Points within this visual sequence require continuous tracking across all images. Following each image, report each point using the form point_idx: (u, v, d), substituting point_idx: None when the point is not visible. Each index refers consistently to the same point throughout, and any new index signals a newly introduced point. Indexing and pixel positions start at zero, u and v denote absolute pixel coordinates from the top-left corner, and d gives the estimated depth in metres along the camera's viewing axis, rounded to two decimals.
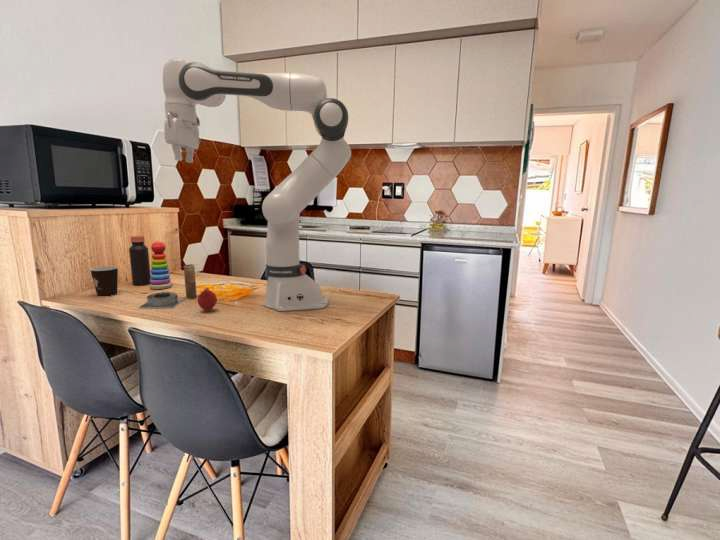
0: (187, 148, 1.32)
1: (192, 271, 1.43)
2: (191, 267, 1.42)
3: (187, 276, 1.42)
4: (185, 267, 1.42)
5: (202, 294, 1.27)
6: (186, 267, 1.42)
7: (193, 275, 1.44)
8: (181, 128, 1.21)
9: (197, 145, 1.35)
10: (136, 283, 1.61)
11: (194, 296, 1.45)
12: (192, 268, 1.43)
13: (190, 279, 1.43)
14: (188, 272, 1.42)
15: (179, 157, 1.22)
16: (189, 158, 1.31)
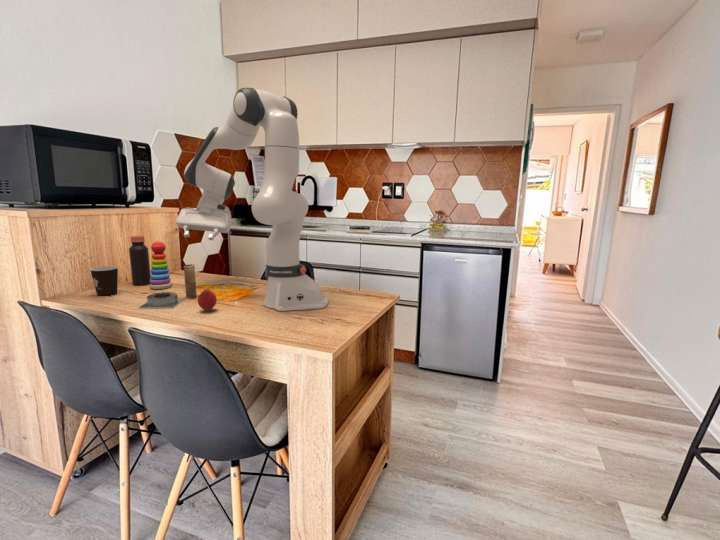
0: None
1: (192, 271, 1.43)
2: (191, 267, 1.42)
3: (187, 276, 1.42)
4: (185, 267, 1.42)
5: (202, 294, 1.27)
6: (186, 267, 1.42)
7: (193, 275, 1.44)
8: (192, 214, 1.54)
9: (222, 225, 1.52)
10: (136, 283, 1.61)
11: (194, 296, 1.45)
12: (192, 268, 1.43)
13: (190, 279, 1.43)
14: (188, 272, 1.42)
15: None
16: None
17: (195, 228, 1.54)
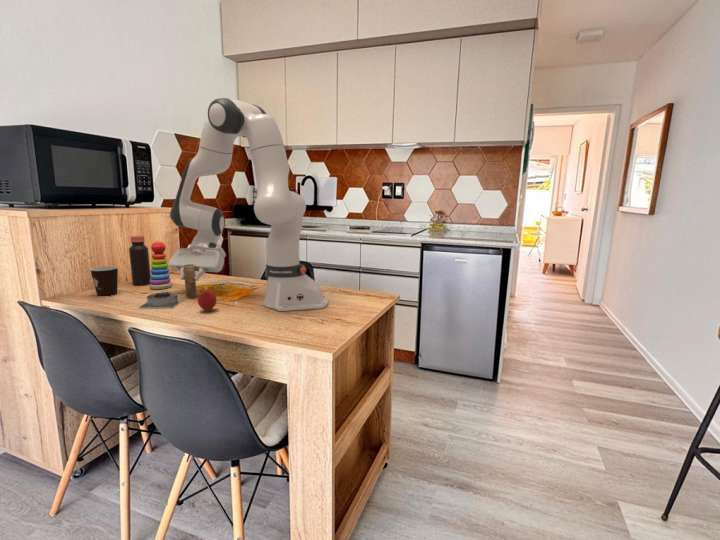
0: None
1: (192, 271, 1.43)
2: (191, 267, 1.42)
3: (187, 276, 1.42)
4: (185, 267, 1.42)
5: (202, 294, 1.27)
6: (186, 267, 1.42)
7: (193, 275, 1.44)
8: (185, 255, 1.49)
9: (212, 264, 1.44)
10: (136, 283, 1.61)
11: (194, 296, 1.45)
12: (192, 268, 1.43)
13: (190, 279, 1.43)
14: (188, 272, 1.42)
15: None
16: None
17: None
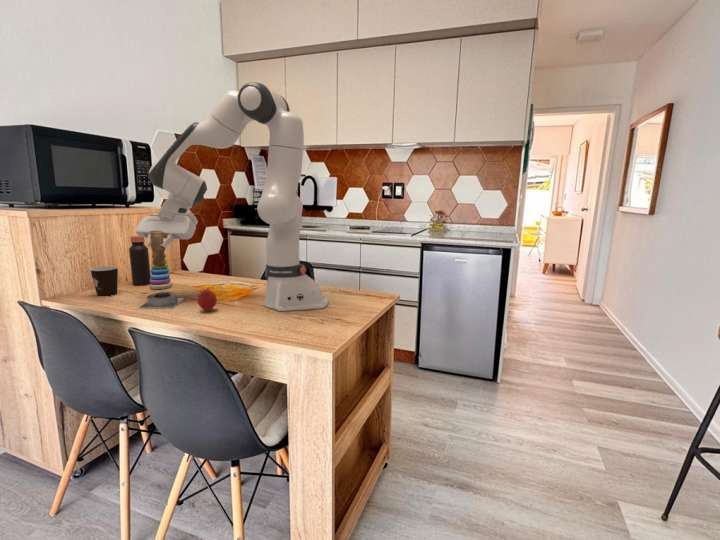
0: None
1: (159, 237, 1.32)
2: (158, 233, 1.31)
3: (154, 243, 1.31)
4: (152, 233, 1.31)
5: (202, 294, 1.27)
6: (153, 233, 1.31)
7: None
8: (153, 221, 1.38)
9: (182, 230, 1.33)
10: (136, 283, 1.61)
11: (162, 265, 1.34)
12: (159, 234, 1.32)
13: (157, 246, 1.32)
14: (155, 238, 1.31)
15: None
16: None
17: None
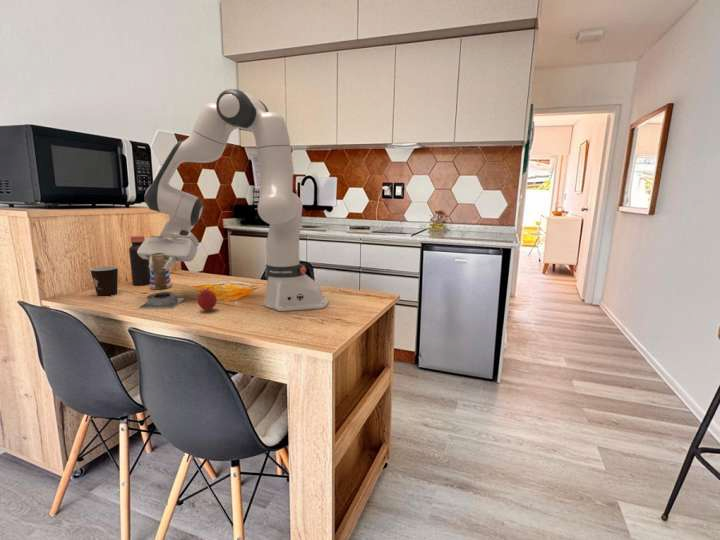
0: None
1: (161, 260, 1.33)
2: (160, 255, 1.33)
3: (156, 265, 1.33)
4: (153, 255, 1.32)
5: (202, 294, 1.27)
6: (154, 255, 1.32)
7: None
8: (155, 243, 1.39)
9: (183, 253, 1.35)
10: (136, 283, 1.61)
11: (164, 287, 1.35)
12: (161, 257, 1.33)
13: (159, 268, 1.33)
14: (156, 261, 1.33)
15: None
16: None
17: None
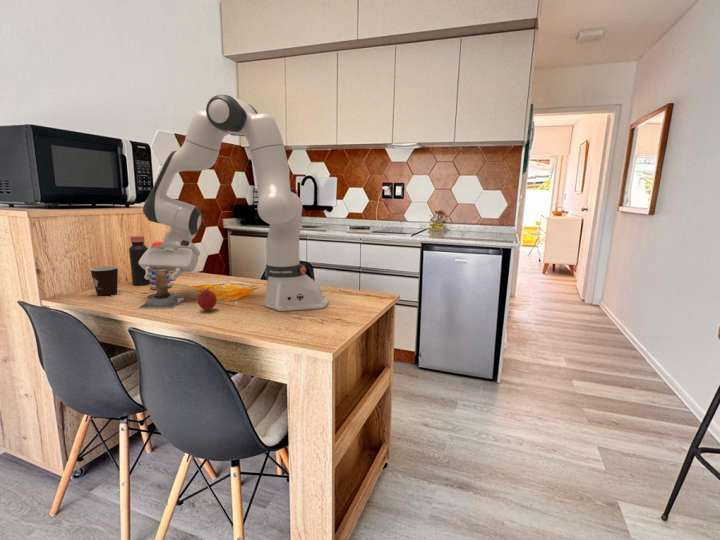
0: None
1: (163, 275, 1.34)
2: (162, 271, 1.34)
3: (158, 280, 1.34)
4: (156, 271, 1.33)
5: (202, 294, 1.27)
6: (157, 271, 1.33)
7: (165, 279, 1.35)
8: (156, 253, 1.40)
9: (184, 263, 1.35)
10: (136, 283, 1.61)
11: None
12: (164, 272, 1.34)
13: (161, 283, 1.34)
14: (159, 276, 1.34)
15: None
16: None
17: None
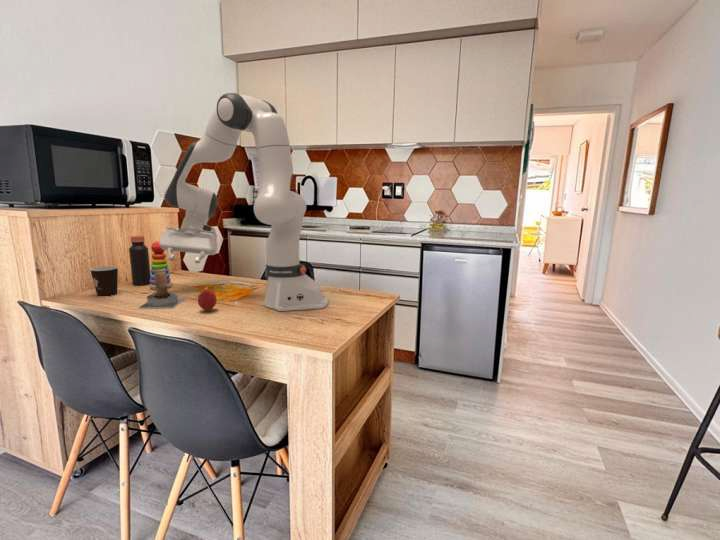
0: None
1: (163, 275, 1.34)
2: (162, 271, 1.34)
3: (157, 280, 1.34)
4: (155, 271, 1.33)
5: (202, 294, 1.27)
6: (156, 271, 1.33)
7: (164, 279, 1.35)
8: (176, 235, 1.49)
9: (209, 247, 1.48)
10: (136, 283, 1.61)
11: None
12: (163, 272, 1.34)
13: (161, 283, 1.34)
14: (158, 276, 1.34)
15: None
16: None
17: (180, 250, 1.49)
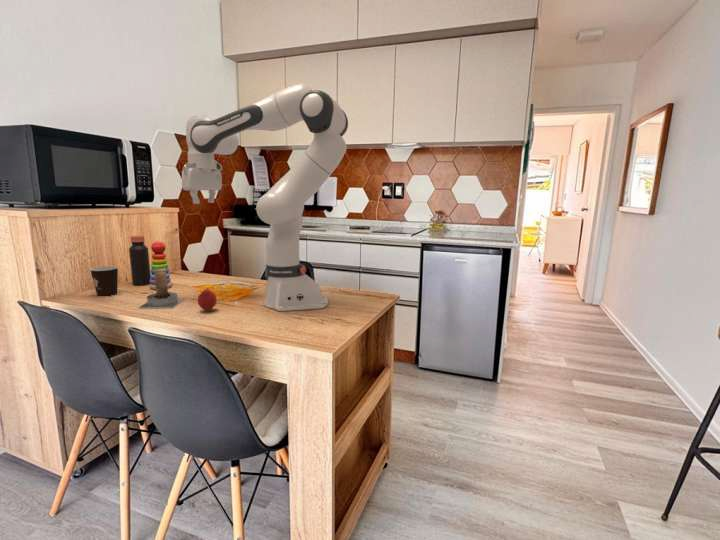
0: (209, 190, 1.49)
1: (163, 275, 1.34)
2: (162, 271, 1.34)
3: (158, 280, 1.34)
4: (155, 271, 1.33)
5: (202, 294, 1.27)
6: (156, 271, 1.33)
7: (165, 279, 1.35)
8: (198, 176, 1.38)
9: (219, 187, 1.52)
10: (136, 283, 1.61)
11: None
12: (163, 272, 1.34)
13: (161, 283, 1.34)
14: (158, 276, 1.34)
15: (196, 201, 1.40)
16: (210, 199, 1.49)
17: None
